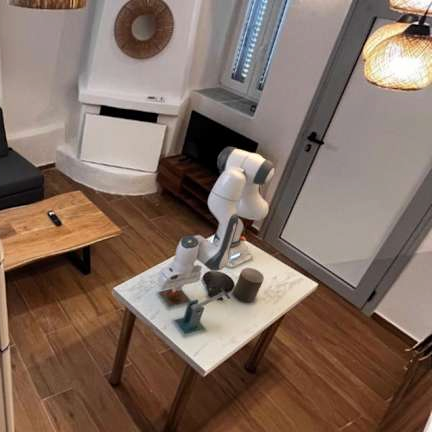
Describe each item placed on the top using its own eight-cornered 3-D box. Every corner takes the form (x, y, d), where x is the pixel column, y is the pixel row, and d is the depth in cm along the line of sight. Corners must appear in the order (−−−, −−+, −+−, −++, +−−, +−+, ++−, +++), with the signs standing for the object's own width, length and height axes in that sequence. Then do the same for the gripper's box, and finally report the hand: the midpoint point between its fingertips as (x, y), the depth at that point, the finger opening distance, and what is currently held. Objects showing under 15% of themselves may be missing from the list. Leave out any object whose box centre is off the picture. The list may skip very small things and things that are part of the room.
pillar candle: (241, 304, 184) (250, 282, 175) (228, 289, 192) (237, 267, 183) (259, 301, 186) (270, 278, 177) (246, 286, 193) (256, 263, 184)
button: (176, 290, 187) (176, 287, 186) (180, 295, 184) (181, 293, 183) (169, 292, 186) (170, 289, 185) (173, 297, 183) (174, 294, 182)
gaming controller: (224, 301, 184) (217, 293, 183) (213, 305, 187) (206, 297, 185) (221, 286, 192) (214, 278, 190) (211, 290, 195) (204, 283, 193)
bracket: (193, 316, 178) (200, 295, 170) (204, 330, 172) (212, 309, 164) (174, 321, 176) (180, 300, 168) (184, 336, 170) (191, 314, 162)
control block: (178, 289, 192) (180, 284, 190) (189, 302, 185) (190, 297, 183) (158, 294, 189) (159, 289, 187) (168, 308, 182) (169, 303, 180)
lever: (222, 289, 170) (221, 286, 169) (230, 298, 166) (230, 295, 164) (188, 306, 170) (188, 302, 168) (196, 315, 166) (195, 312, 164)
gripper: (198, 259, 180) (191, 281, 189) (158, 268, 175) (153, 290, 184) (206, 268, 175) (199, 290, 184) (165, 278, 171) (160, 300, 179)
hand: (175, 290), depth 184 cm, fingers closed
